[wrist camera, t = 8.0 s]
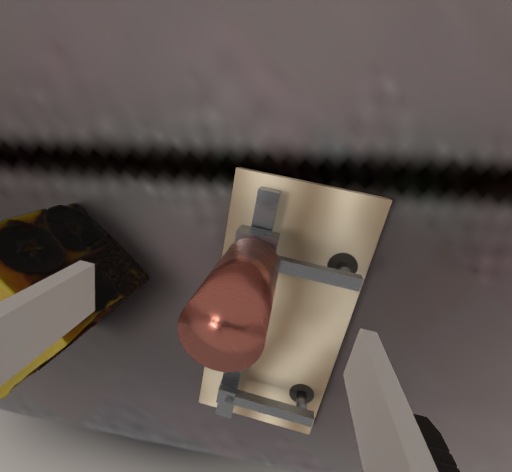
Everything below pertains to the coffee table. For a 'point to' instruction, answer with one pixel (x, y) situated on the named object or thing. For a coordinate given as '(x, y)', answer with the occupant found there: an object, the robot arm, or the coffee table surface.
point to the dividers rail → (230, 380)
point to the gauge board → (303, 286)
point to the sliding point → (245, 300)
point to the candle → (63, 267)
